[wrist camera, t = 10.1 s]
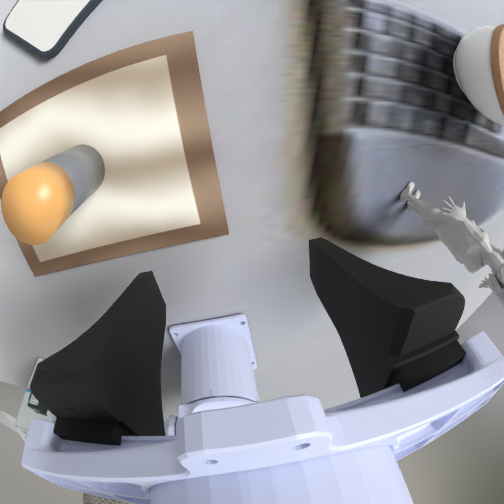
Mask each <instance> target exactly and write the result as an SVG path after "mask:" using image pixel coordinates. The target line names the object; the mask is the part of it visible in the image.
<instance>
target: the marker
mask: <svg viewBox="0 0 504 504" xmlns="http://www.w3.org/2000/svg"><path fill="white" fill-rule="evenodd" d="M104 176H105V165H104V161H103V158H102V156H101V155H100V153H99V152H98V151H97V150H96V149H95V148H93V147H91V146H89V145H84V144H81V145H76V146H74V147H71V148H69V149H67V150H65V151H62V152H60V153H58V154H56V155H54V156H52V157H50V158H48V159H45V160H43V161H41V162H39V163H37V164H36V165H34V166H32V167H30V168H28V169H26V170H24V171H22V172H21V173H19V174H17V175H15V176H14V177H12V178H11V179H10V180H9V181H8V182H7V184H6V185H5V188H4V190H3V193H2V200H1V206H2V213H3V217H4V220H5V222H6V224H7V226H8V228H9V230H10V231H11V232H12V234H13V235H14V236H15V237H16V238H18V239H19V240H20V241H22V242H24V243H26V244H29V245H40V244H43V243H45V242H46V241H47V240H49V239H50V237H51V236H52V235H53V234H54V233H55V232H56V231H57V230H58V228H59V227H60V226H61V225H62V224H63V223H64V222H65V221H66V220H67V219H68V218H69V217H70V216H71V215H72V214H73V213H74V212H75V211H76V210H77V209H78V208H79V207H80V206H81V205H82V204H83V203H84V202H85V201H86V200H87V199H88V198H89V197H90V196H91V195H92V194H93V193H94V192H95V191H96V190H97V189H98V188H99V187H100V186H101V184H102V182H103V179H104Z"/></svg>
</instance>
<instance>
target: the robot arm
mask: <svg viewBox="0 0 504 504" xmlns="http://www.w3.org/2000/svg"><path fill="white" fill-rule="evenodd" d="M309 257H310V278H311V280H312V283H313V286H314V288H315V291H316V293H317V295H318V297H319V299H320V301H321V302H322V304H323V306H324V308H325V310H326V311H327V313H328V315H329V317H330V318H331V320H332V322H333V324H334V326H335V327H336V329H337V331H338V334H339V336H340V338H341V341H342V343H343V346H344V348H345V351H346V353H347V356H348V359H349V362H350V365H351V367H352V370H353V373H354V377H355V380H356V383H357V386H358V390H359V393H360V397H361V398H360V399H357V400H354V401H351V402H348V403H345V404H342V405H339V406H336V407H333V408H329V409H326V410H324V409H323V406H322V404H321V402H320V400H319V399H318V398H316V397H312V396H307V395H295V396H286V397H281V398H277V399H272V400H267V401H262V402H259V397H258V392H257V387H256V382H255V377H254V371H253V370H255V369H257V363H256V359H255V354H254V350H253V345H252V341H251V336H250V331H249V327H248V322H247V318H246V315H244V314H238V315H233V316H228V317H222V318H217V319H211V320H205V321H200V322H194V323H188V324H182V325H175V326H171V327H170V329H169V332H170V334H171V336H172V338H173V340H174V342H175V344H176V346H177V348H178V350H179V352H180V354H181V356H182V359H181V405H178V417H177V416H172V415H171V416H170V417H169V418H168V419H167V420H166V421H165V422H164V420H163V411H162V400H161V378H160V369H161V357H162V349H163V341H164V334H165V326H166V304H165V302H164V299H163V297H162V295H161V292H160V290H159V287H158V285H157V282H156V280H155V277H154V275H153V272H152V271H148V272H143V273H140V274H139V275H138V276H137V277H136V278H135V279H134V280H133V281H132V282H131V284H130V285H129V286H128V287H127V288H126V290H125V291H124V292H123V293H122V294H121V296H120V297H119V298H118V299H117V300H116V302H115V303H114V304H113V305H112V306H111V307H110V308H109V309H108V310H107V312H106V313H105V314H104V315H103V316H102V317H101V318H100V319H99V320H98V321H97V322H96V323H95V324H94V325H93V326H92V327H90V328H89V329H88V330H87V331H86V332H85V333H83V334H82V335H81V336H80V337H78V338H77V339H76V340H75V341H73V342H72V343H71V344H69V345H68V346H66V347H65V348H63V349H62V350H60V351H59V352H57V353H55V354H54V355H52V356H50V357H48V358H47V359H45V360H43V361H41V362H39V363H38V364H37V367H36V370H35V372H34V375H33V378H32V381H31V384H30V390H31V392H32V394H33V396H34V397H35V398H36V399H37V400H38V401H39V402H40V403H41V404H42V405H43V406H44V407H45V408H46V409H47V410H49V411H50V412H51V413H52V414H53V415H54V416H56V417H57V418H56V422H55V423H53V422H51V421H48V420H43V419H37V418H31V421H30V425H29V429H28V433H27V438H26V442H25V447H24V451H23V457H22V462H21V465H22V466H23V467H24V468H26V469H28V470H30V471H31V472H33V473H35V474H37V475H39V476H40V477H42V478H44V479H46V480H48V481H50V482H52V483H54V484H56V485H58V486H61V487H65V488H68V489H72V490H75V491H79V492H83V493H87V494H91V495H95V496H99V497H104V498H109V499H114V500H119V501H124V502H130V503H137V504H413V501H412V499H411V496H410V493H409V491H408V488H407V486H406V483H405V481H404V478H403V476H402V474H401V471H400V469H399V466H398V464H397V460H399V459H401V458H403V457H405V456H407V455H409V454H410V453H412V452H414V451H416V450H418V449H420V448H421V447H423V446H425V445H426V444H428V443H430V442H431V441H433V440H434V439H436V438H438V437H439V436H441V435H442V434H444V433H445V432H447V431H448V430H450V429H451V428H453V427H454V426H456V425H457V424H459V423H460V422H462V421H463V420H464V419H466V418H467V417H469V416H470V415H471V414H473V413H474V412H475V411H477V410H478V409H479V408H481V407H482V406H483V405H485V404H486V403H487V402H488V401H489V400H490V398H491V397H492V396H493V395H494V394H495V393H496V392H497V391H498V389H499V388H500V387H501V386H502V385H503V383H504V357H503V356H502V354H501V353H500V352H499V351H498V349H497V348H496V347H495V345H494V344H493V343H492V341H491V340H490V339H489V338H488V336H487V335H486V334H485V333H484V332H483V331H481V332H479V333H477V334H476V335H474V336H472V337H471V338H469V339H467V340H466V341H465V342H464V343H463V344H462V345H460V344H459V343H458V341H457V340H458V338H459V335H458V334H457V332H456V331H455V329H456V327H457V325H458V322H459V320H460V318H461V316H462V313H463V310H464V306H465V299H464V296H463V295H462V294H461V293H460V292H459V291H458V290H457V289H456V288H455V287H454V286H453V284H452V283H446V282H437V281H429V280H423V279H418V278H413V277H409V276H405V275H402V274H398V273H395V272H392V271H389V270H386V269H384V268H381V267H378V266H376V265H374V264H371V263H369V262H367V261H365V260H363V259H361V258H359V257H357V256H355V255H353V254H351V253H349V252H347V251H345V250H344V249H342V248H340V247H338V246H337V245H335V244H333V243H331V242H329V241H328V240H326V239H324V238H316V239H311V240H309ZM175 333H177V334H175Z"/></svg>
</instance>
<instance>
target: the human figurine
mask: <svg viewBox="0 0 504 504" xmlns="http://www.w3.org/2000/svg"><path fill="white" fill-rule="evenodd" d="M414 185H415V183H414V182H410V183H408V185H407V187H406V189H404V190H403V191H402V193H401V194H400V201H401V202H403V201H407V200H409V201H408V202H407V209H408V211H411V210H416V212H417V213H418V215H419V216H420V217H422V219H423V221H424V222H425V224H426V226H427V227H430V228H433V229H435V231H436V232H437V234H438V236H439V238H440V240H441V241H442V242H443V243H444V244H445V245H446V246H447V247H448V249H449V250H450V251H451V253H452V254H453V256H454V257H455V259H456V260H457V261H458V262H460V263H461V264H464V265H465V267H466V269H467V270H468V271H469V272H471V273H474V272H476V271H478V270H479V269H481V268H482V267H483V266H485V265H487V264H488V265H489V266H490V267H491V269H492V273H493V274H489V278H490V279H486V277H485V280H486V281H483V280H482V282H484V283H483V284H480V286H479V288H482V287H485V288H487V287H488V286H489V287H490V289H491V290H492V291H493V292H494V293H495V294H496V296H497V297H498V298H499V300H500V301H501V303H502V304H503V306H504V250H503V251H502V250H501V249H499V248H496V247H495V246H493V245H492V244H491V243H490V244H489V239H488V234H487V233H486V232H484V231H483V230H482V229H481V228H479V227H478V226H477V225H475V222H474V221H473V220H471V219H470V218H468V217H466V212H465V202H462V207H461V208H460V207H458V206H456V205H455V204H454V203H453V201H452V200H451V198H450V197H449V196H448V199H449V201H450V202H451V203H452V206H451V205H450V204H448V203H447V202H446V201H445V200H443V202H444V203H445V204H446V205H447V206H448V207H450V209H451V210H448V209H446V208H444V207H442V209H443V210H446V211H448V213H447V212H442V211H440V210H439V209H438V208H437V207H434V206H431V205H428V204H426V203H425V202H423V201H421V200H419V199H418V198H419V197H420V191H419V190H417V191H416V192H415V193H414V195H412V194H411V191H412V189H413V188H414ZM481 285H482V286H481Z"/></svg>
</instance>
